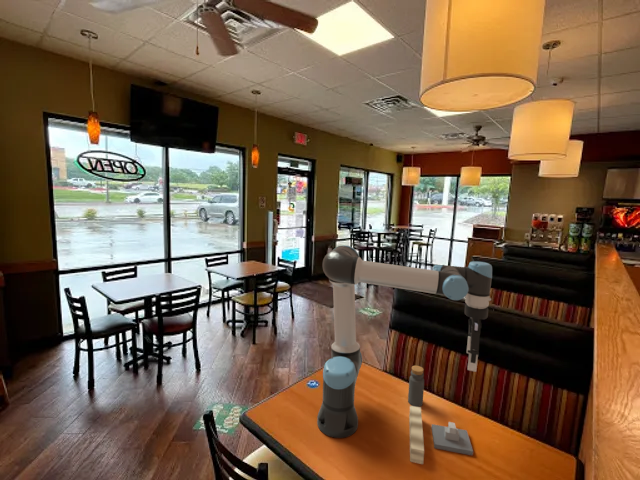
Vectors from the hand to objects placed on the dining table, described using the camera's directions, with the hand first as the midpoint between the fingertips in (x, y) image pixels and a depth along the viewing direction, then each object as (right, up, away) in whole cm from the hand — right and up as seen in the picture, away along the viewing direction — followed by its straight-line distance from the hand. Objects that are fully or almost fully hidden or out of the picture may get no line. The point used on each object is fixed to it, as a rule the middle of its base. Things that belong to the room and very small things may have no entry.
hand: (471, 361), depth 116 cm
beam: (-21, -26, -4) cm, 34 cm away
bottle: (-16, -23, +16) cm, 32 cm away
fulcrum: (-9, -26, -5) cm, 28 cm away
